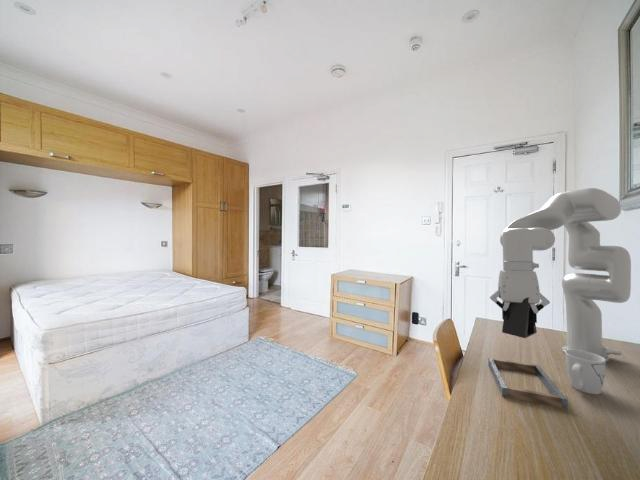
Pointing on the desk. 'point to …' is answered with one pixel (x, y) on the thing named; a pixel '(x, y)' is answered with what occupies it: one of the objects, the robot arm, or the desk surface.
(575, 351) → the mug
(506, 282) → the robot arm
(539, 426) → the desk surface
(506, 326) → the phone stand
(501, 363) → the wooden frame
